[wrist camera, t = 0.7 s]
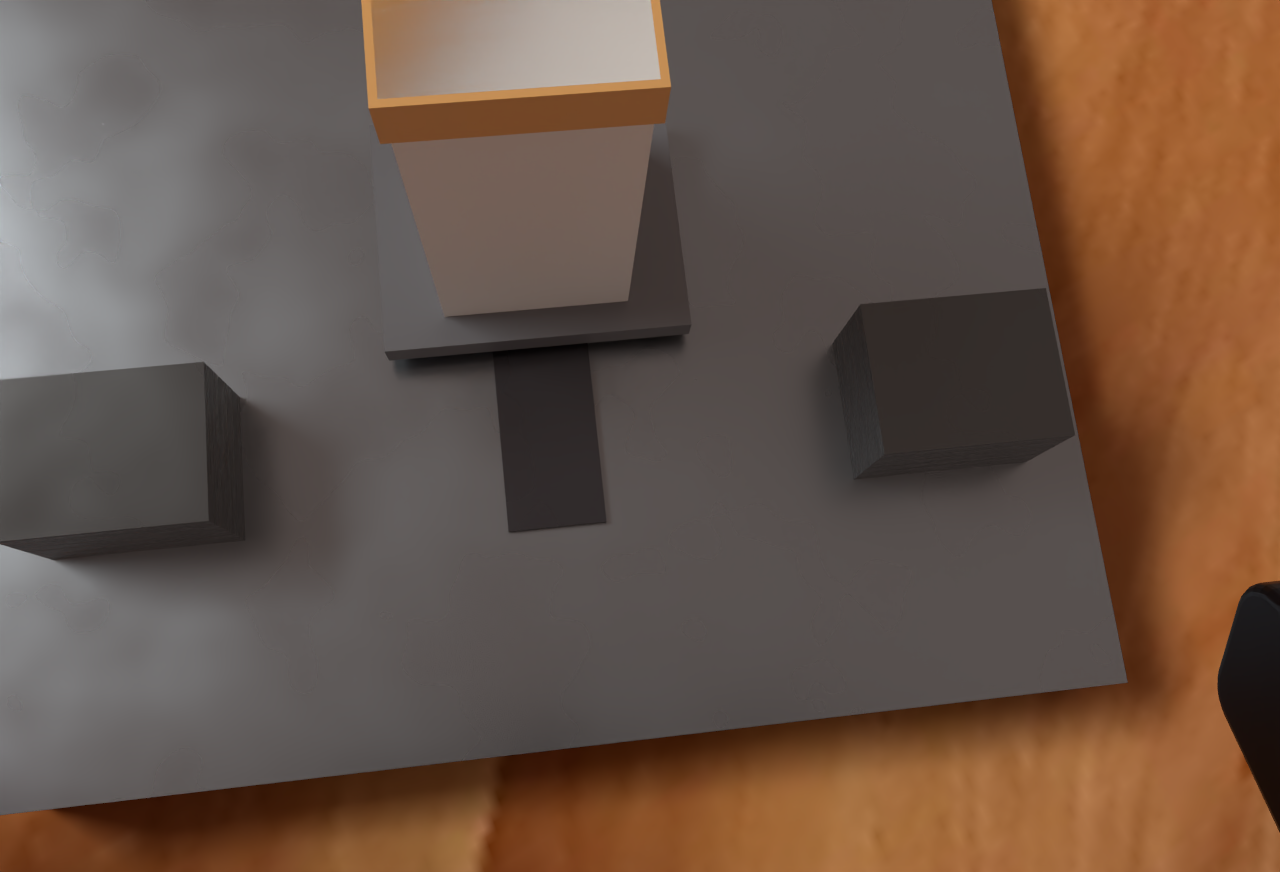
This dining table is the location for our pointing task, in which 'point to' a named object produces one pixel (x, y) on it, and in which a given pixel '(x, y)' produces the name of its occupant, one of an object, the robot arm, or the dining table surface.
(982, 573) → the plate
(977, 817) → the dining table surface
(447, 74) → the handle
